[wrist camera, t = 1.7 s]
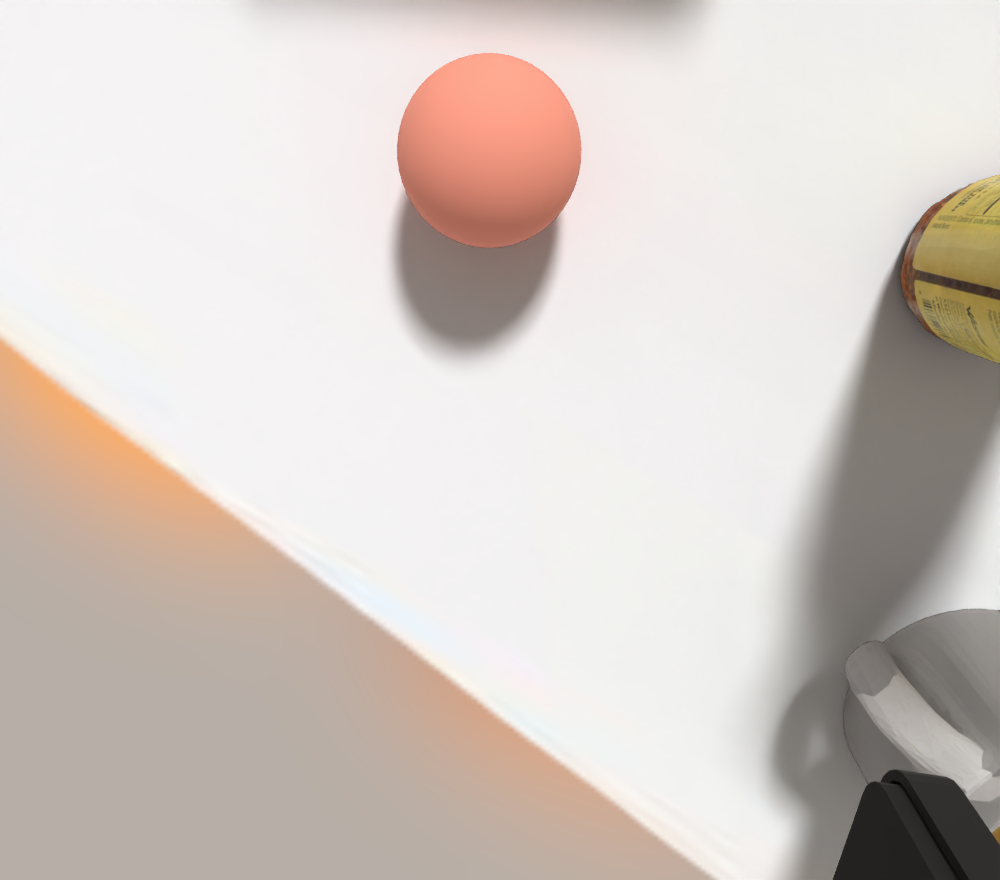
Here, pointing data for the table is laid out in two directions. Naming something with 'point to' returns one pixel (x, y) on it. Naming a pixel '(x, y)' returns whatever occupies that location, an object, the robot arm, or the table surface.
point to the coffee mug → (931, 705)
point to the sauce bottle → (958, 269)
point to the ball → (489, 150)
